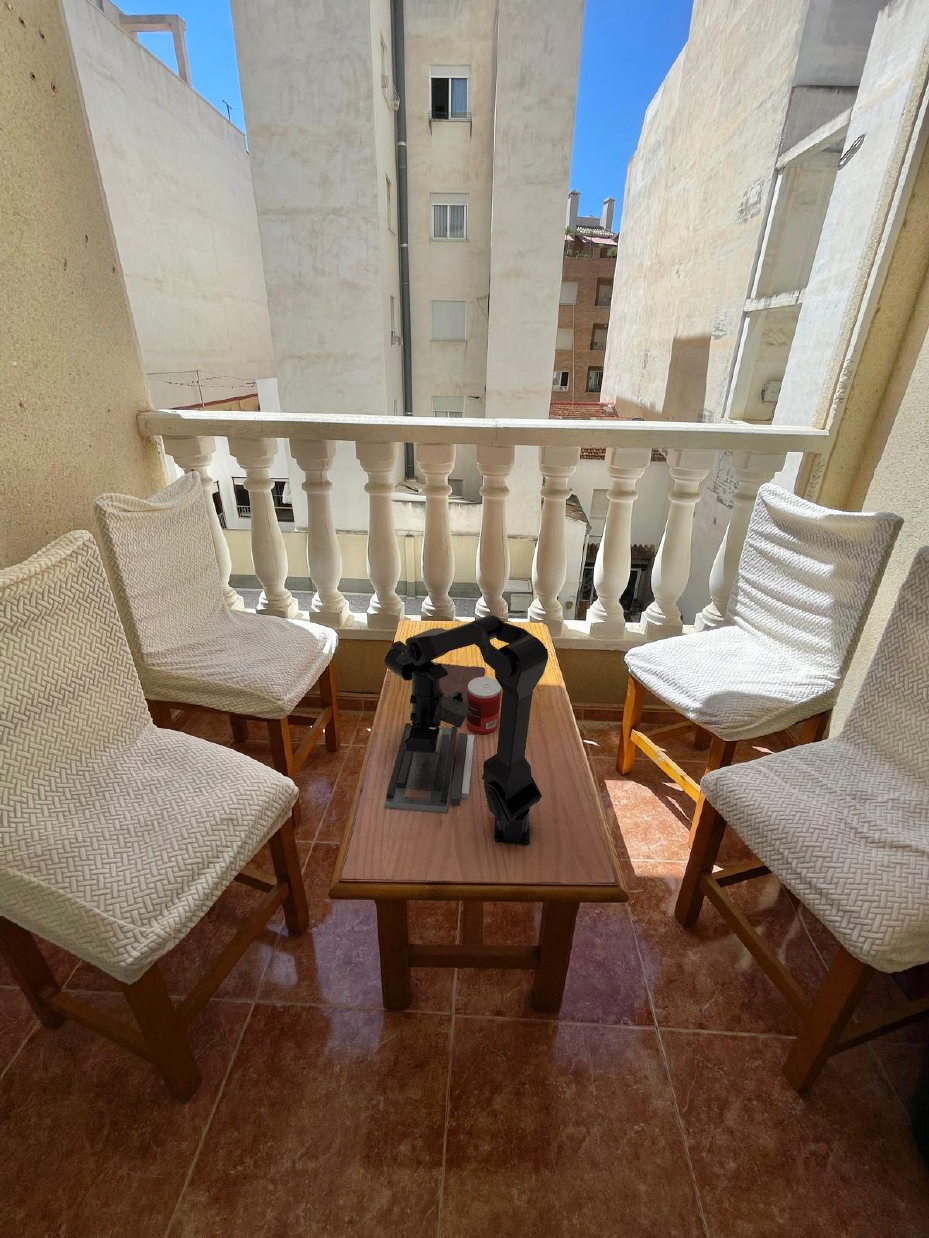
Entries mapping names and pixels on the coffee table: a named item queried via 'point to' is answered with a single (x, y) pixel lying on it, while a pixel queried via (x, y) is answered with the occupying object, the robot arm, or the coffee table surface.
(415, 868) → the coffee table surface
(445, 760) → the panel
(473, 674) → the notebook
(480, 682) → the canned food
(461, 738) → the long gray rectangular block
